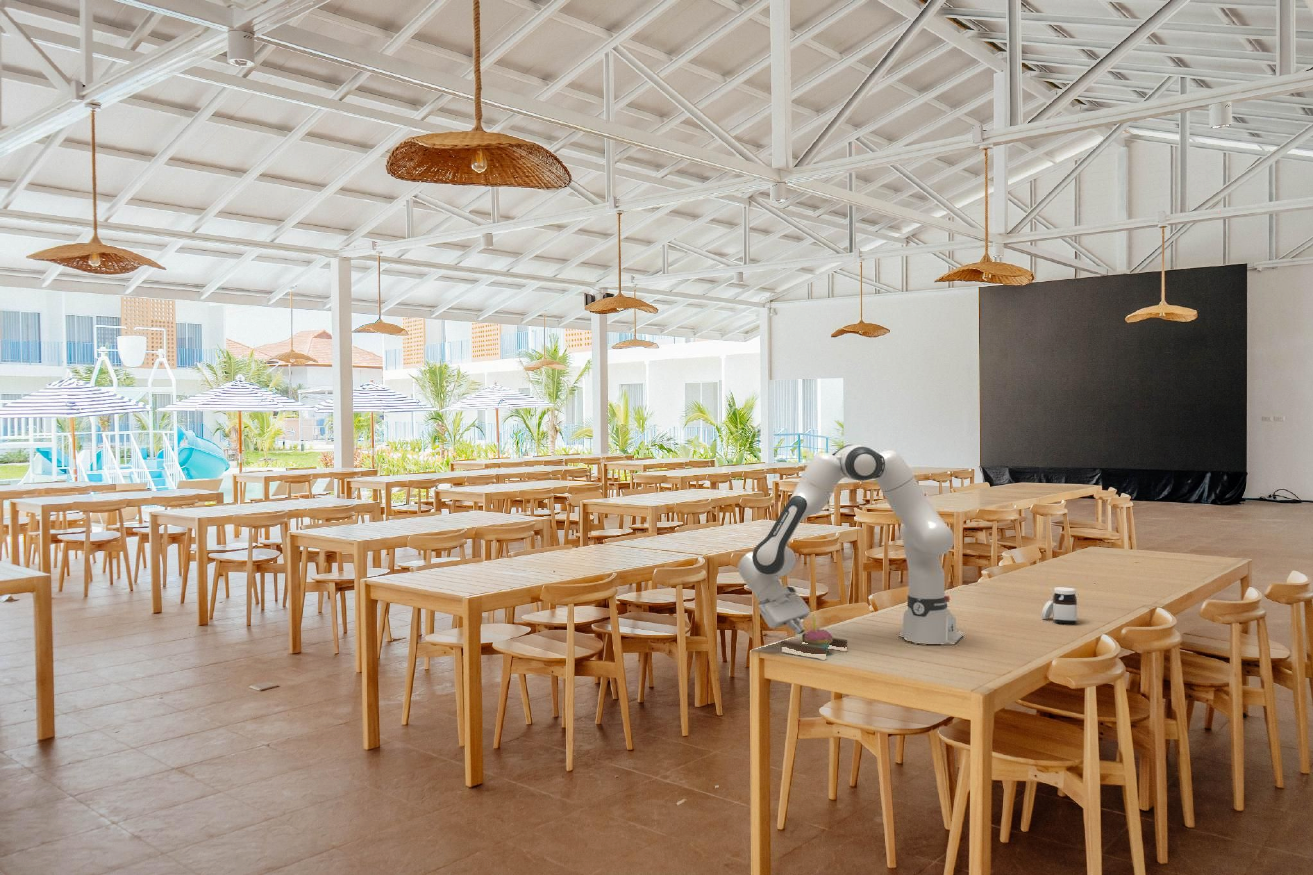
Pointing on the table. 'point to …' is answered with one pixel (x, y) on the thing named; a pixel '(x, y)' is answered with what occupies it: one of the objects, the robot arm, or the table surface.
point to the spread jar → (1062, 606)
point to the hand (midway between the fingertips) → (801, 632)
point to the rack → (812, 646)
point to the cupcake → (818, 637)
